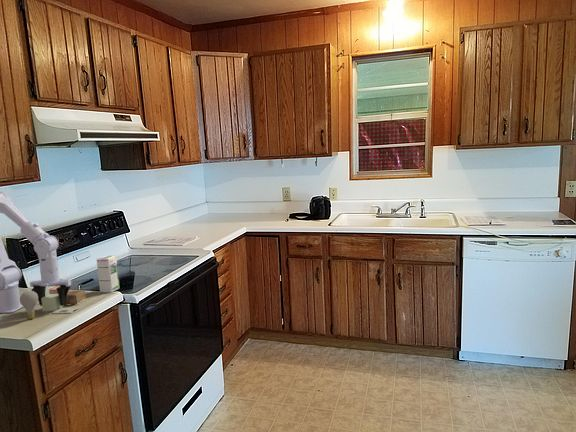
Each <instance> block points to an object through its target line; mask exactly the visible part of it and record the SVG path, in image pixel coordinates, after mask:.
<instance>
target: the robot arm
mask: <svg viewBox="0 0 576 432" xmlns="http://www.w3.org/2000/svg"><path fill="white" fill-rule="evenodd" d="M0 214H3V215H5V216H6V217H7V218H8V219H9V220H11V221H12V222H13V223H14V224H15V225H17V227H19V228H20V234H22V235H23V236H24V237H25V238H26V239H27V240H28V241H29V242H30V243H31V244H32V245H33V250H34V252H35V253H36V254H37V258H38V263H39V271H40V280H32V281H30V282H29V287H30V288H31V290H30V291H34V292H35V293H37V295H38V301H37V302H38V303H39V306H40V307H42V300H41V298H43V297H45V296H46V289H47V288H46V287H55V286H60V287H58V288H56V290H57V292H58V295H59V300H60V305H61V306H63V305H64V306H66V305H65V303H66V297H67V293H68V291H70V288H71V285H72V280H71V279H63V278H62V279H61V278H60V275H59V274H60V273H59V264H58V256H57V250H58V248H59V245H60V243H59V240H58V239H57V237H56V236H54V235H50V234H49V233H48V232H46V231H44V230H43V229H42V228H41V226H40V224H39V223H38V222H35V221H29V220H28V219H27V218H26V216H24V214H23V213H22V212H21V211H20V210H19V209H18V208H17V207H16V206H15V204H13V201H12V198H10V197H9V196H8V195H7V194H6V193H5V192H3V191H0ZM22 277H23V275H22V271H21V269H20V268H19V267H18V266H17V264H16V262H15V261H14V260H11V259H9V256H8V253H7V251H6V248H5V246H4V243H3V240H2V237H1V236H0V313H1V314H2V313H4V314H5V313H6V314H8V313H10V314H12V313H15V312H16V311H18V310H20V309H22V308H24V307H23V305H22V304H21V303H20V296H21V295H20V291H19V290H20V289H19V284H20V282H19V281H21V279H22Z"/></svg>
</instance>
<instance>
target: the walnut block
mask: <svg viewBox="0 0 576 432" xmlns="http://www.w3.org/2000/svg"><path fill="white" fill-rule="evenodd" d="M85 298H86V290H69V292H68V293H67V297H66V303H65V304H77V303H79V302H80V301H82V300H83V299H85ZM86 299H87V298H86Z"/></svg>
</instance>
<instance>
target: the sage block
mask: <svg viewBox="0 0 576 432" xmlns="http://www.w3.org/2000/svg"><path fill="white" fill-rule="evenodd" d="M41 300H42V306H41V307H42V312H54V311H56V310H58V309H60V308H61V307H62V308H64V307H65V305H63V306H64V307H63V306H61V305H60V300H59V295H58V294H50V293H49V294H47V295H45V297H43V298H41Z"/></svg>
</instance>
